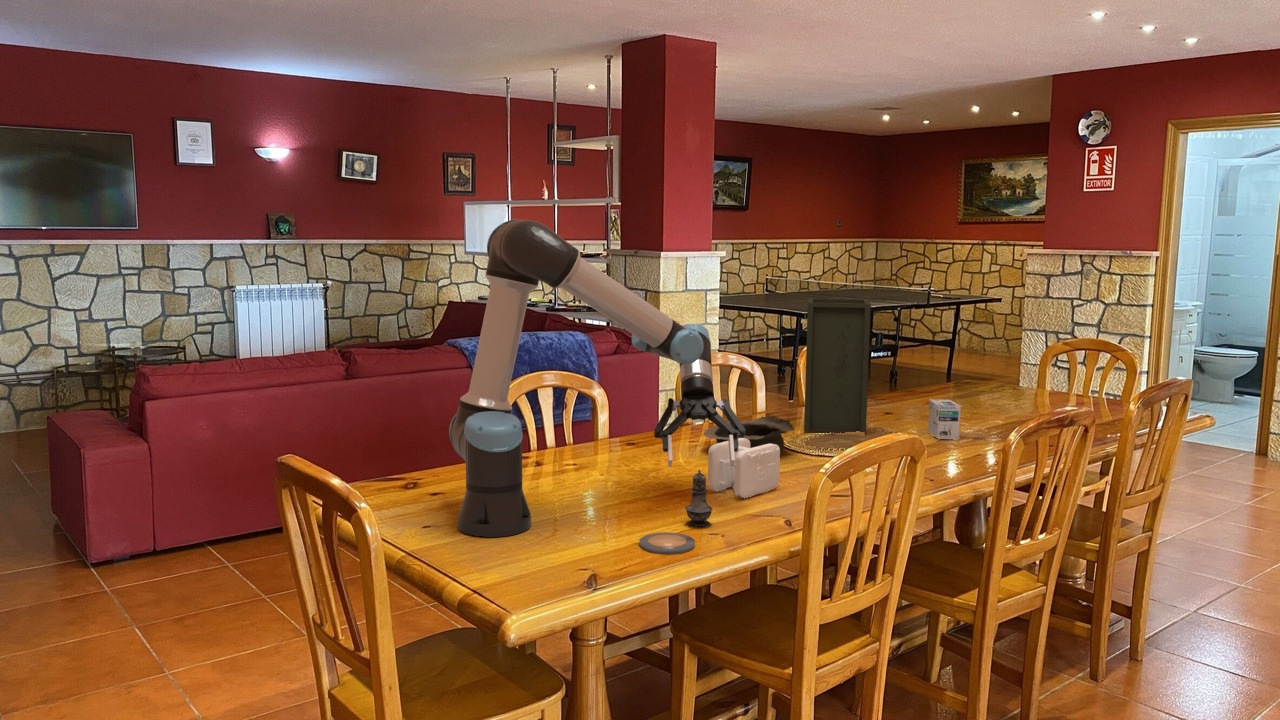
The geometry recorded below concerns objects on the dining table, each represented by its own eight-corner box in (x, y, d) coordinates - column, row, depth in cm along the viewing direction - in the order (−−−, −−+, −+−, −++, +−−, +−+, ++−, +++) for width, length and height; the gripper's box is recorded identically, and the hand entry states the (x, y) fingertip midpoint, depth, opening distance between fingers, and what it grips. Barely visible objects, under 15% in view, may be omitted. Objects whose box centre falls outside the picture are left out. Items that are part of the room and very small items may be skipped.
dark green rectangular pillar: (804, 421, 314) (808, 298, 309) (862, 424, 311) (867, 299, 306) (803, 433, 296) (807, 302, 291) (865, 436, 293) (870, 304, 288)
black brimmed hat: (811, 454, 269) (811, 422, 267) (742, 473, 255) (741, 439, 254) (753, 436, 289) (752, 406, 287) (686, 453, 276) (684, 422, 274)
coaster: (629, 541, 195) (629, 537, 194) (675, 533, 200) (675, 528, 200) (658, 557, 185) (658, 553, 185) (705, 548, 191) (705, 544, 191)
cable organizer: (746, 481, 241) (747, 435, 239) (781, 490, 233) (782, 442, 232) (706, 493, 230) (707, 445, 229) (741, 502, 223) (742, 452, 221)
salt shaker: (681, 526, 204) (681, 471, 203) (689, 519, 210) (690, 464, 208) (708, 530, 202) (709, 473, 201) (715, 522, 208) (716, 467, 206)
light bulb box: (959, 441, 288) (961, 405, 286) (937, 440, 288) (938, 405, 287) (949, 433, 299) (950, 398, 297) (927, 433, 299) (928, 398, 297)
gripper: (748, 393, 228) (756, 471, 215) (642, 393, 227) (644, 472, 215) (752, 374, 222) (760, 454, 209) (643, 374, 221) (644, 454, 209)
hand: (701, 463), depth 212 cm, fingers open, 13 cm apart
